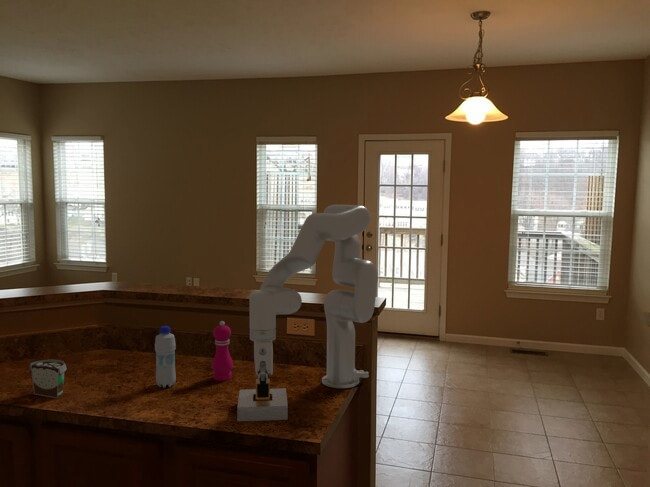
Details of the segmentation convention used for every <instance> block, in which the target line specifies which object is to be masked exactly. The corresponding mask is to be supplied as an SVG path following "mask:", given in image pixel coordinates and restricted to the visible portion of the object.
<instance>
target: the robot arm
mask: <svg viewBox="0 0 650 487" xmlns="http://www.w3.org/2000/svg"><path fill="white" fill-rule="evenodd" d="M371 219H372V218H371V213H370V211H369V209H367V207H365V206H363V205H359V204H331V205H328V206H326V207H325V208H324V210H323V212H316V213H311V214H310V215H308V216H307V217H306V218H305V220H304V222H303V224H302V226H301V228H300V230H299V233H298V234H297V237H296V238H295V241H294V243H293V244H292V247H291V249H290V250H289V252H288V253H287V255H285V256H283V257H281V259H280V260H278V262H277V263H275V265H273V266H272V267H271V269H270V270H268V272H267V274H266V275H265V278H264V280H263V281H262V283H261V285H260V287H259V290H255V291H253V292H251V293H250V294H249V340H250V341H252V342H253V358H254V369H255V375H257V379H258V383H257V397H258V398H266V397H269V383H268V379H270V378H269V376H272V375H273V373H274V370H273V368H274V364H273V363H274V362H273V360H274V354H273V353H274V351H273V347H274V346H273V345H274V344H273V341H275V340H276V336H277V335H276V334H277V329H276V328H277V321H276V320H277V318H276V317H277V315H291V314H294V313H296V312H298V310H300V308H301V307H302V304H303V303H302V301H303V300H302V296H301V294H300V293H299V292H298V291H297V290H294V289H293V288H288V287H283V286H284V284H285V283H286V282H287V281H288V280H289V278H291V277H292V276H294V275H295V274H297V273H300V272H303V271H305V270H307V269H309V268H311V267H314V265H315V264H316V261H317V260H318V257H319V256H320V254H321V251H322V248H323V246H324V245H325V242H327V241H328V242H334V257H333V264H332V281H333V282H334V283H335V284H337V285H339V286H343V287H348V288H354V291H352V290H346V289H333V290H331V291H329V292H328V293H327V294H326V295H325V297H324V301H323V302H324V303H323V309H324V314H325V320H326V375H324V376H322V377H321V383H322V384H323V385H324V386H325V387H327V388H328V387H329V388H334V389H351V388H354V387H356V386H358V385H359V383H360V378H363V379H364V378H365V379H366V378H369V377H370V375H369V371H364V370H363V369H362V370H361V369H360V370H357V369H356V366H355V365H356V364H355V363H356V329H355V324H354V322H355V323H360V324H364V323H367V322H368V321H370V319H371V318H372V317H373V314H374V311H375V307H376V306H375V304H376V297H377V288H378V282H379V280H378V278H379V275H378V274H379V273H378V269H377V267H376V265H375V264H374V263H373V262H372V260H371V261H370V260H367V259H362V258H361V240H360V237H359V234H360V233H363V232H364V231H366V229H368V228H369V226H370V223H371Z"/></svg>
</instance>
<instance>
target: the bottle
mask: <svg viewBox="0 0 650 487" xmlns="http://www.w3.org/2000/svg"><path fill="white" fill-rule="evenodd" d="M175 350H176V338H175V335H174V334H173V333H171V327H170V326H168V325H162V326H161V327H160V328H159V334H157V335H156V336H155V341H154V351H155V366H156V367H155V369H156V370H155V382H156V385H157V386H158V387H159V388H163V389H164V388H165V389H166V387H167V385H168V387H169V388H171V387H172V386H174V385H175V384H176V377H177V375H176V358H175V357H176V355H175V354H176V353H175Z"/></svg>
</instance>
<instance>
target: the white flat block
mask: <svg viewBox="0 0 650 487" xmlns="http://www.w3.org/2000/svg"><path fill="white" fill-rule="evenodd" d="M238 393H239V394H238V400H237V408H236V409H237V410H236V411H237V412H236V414H237V422H254V421H255V422H258V421H259V422H261V421H284V420H285V421H287V420H288V419H289V418H288V416H289V414H288V413H289V410H288V408H289V406H288V396H287V388H284V387H283V388H280V387H279V388H270V401H256V388H253V389H251V388H250V389H248V388H247V389H239V392H238Z"/></svg>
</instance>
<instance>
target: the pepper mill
mask: <svg viewBox="0 0 650 487" xmlns="http://www.w3.org/2000/svg"><path fill="white" fill-rule="evenodd" d="M212 334H213V337H214V338H215V340H214V344H215V346H216V347H215V349H216V350H215V354H214V357H213V360H212V363H211V369H212V370H213V373H212V374H213V376H212V378H213V380H215V381H218V382H220V381H221V382H222V381H223V382H224V381H228V380H231V379H232V377H233V375H232V374H233V373H232V370H233V368H234V362H233V358H232V357H231V354H230V351H229V345H230V343H231V342H230V337H231V335H232V330H231V328H230V327H229V326H228V325H226V322H225V321H223V320H221V321H219V325H218V326H216V327H215V328H214V329H213V333H212Z"/></svg>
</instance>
